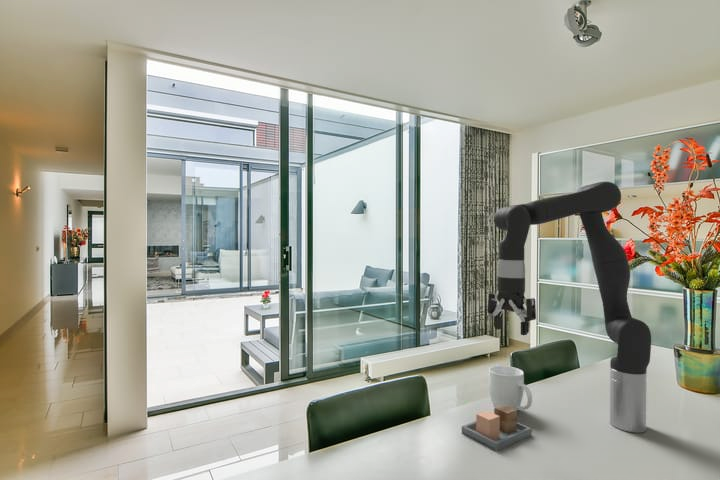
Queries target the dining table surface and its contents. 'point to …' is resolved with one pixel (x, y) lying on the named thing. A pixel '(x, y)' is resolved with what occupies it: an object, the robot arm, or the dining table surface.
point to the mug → (508, 387)
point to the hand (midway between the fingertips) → (510, 331)
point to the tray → (503, 438)
